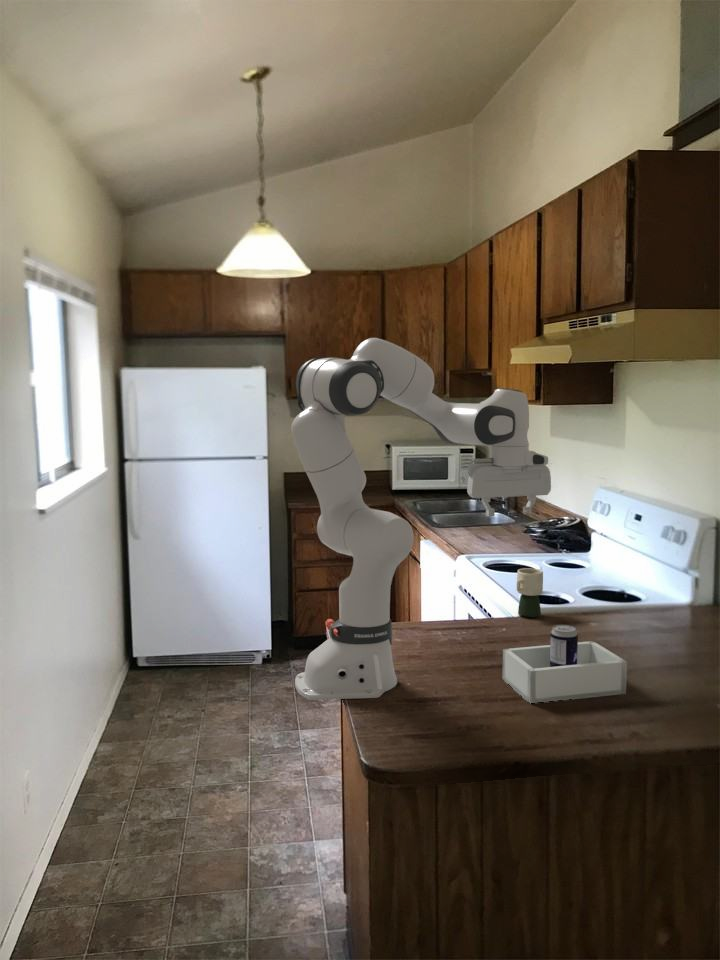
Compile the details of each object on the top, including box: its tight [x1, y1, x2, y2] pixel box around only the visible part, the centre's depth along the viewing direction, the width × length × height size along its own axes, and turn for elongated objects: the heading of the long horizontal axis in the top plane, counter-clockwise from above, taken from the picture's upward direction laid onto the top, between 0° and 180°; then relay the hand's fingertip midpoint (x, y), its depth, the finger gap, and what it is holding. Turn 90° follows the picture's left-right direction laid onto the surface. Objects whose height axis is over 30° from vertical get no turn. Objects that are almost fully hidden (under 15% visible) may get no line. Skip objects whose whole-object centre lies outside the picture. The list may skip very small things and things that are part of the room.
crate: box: [501, 640, 628, 705], centre depth 172 cm, size 22×14×7 cm, turn 103°
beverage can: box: [549, 624, 579, 667], centre depth 172 cm, size 6×6×12 cm
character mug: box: [516, 567, 544, 618], centre depth 224 cm, size 11×7×13 cm, turn 129°
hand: (508, 515), depth 190 cm, fingers open, 8 cm apart
